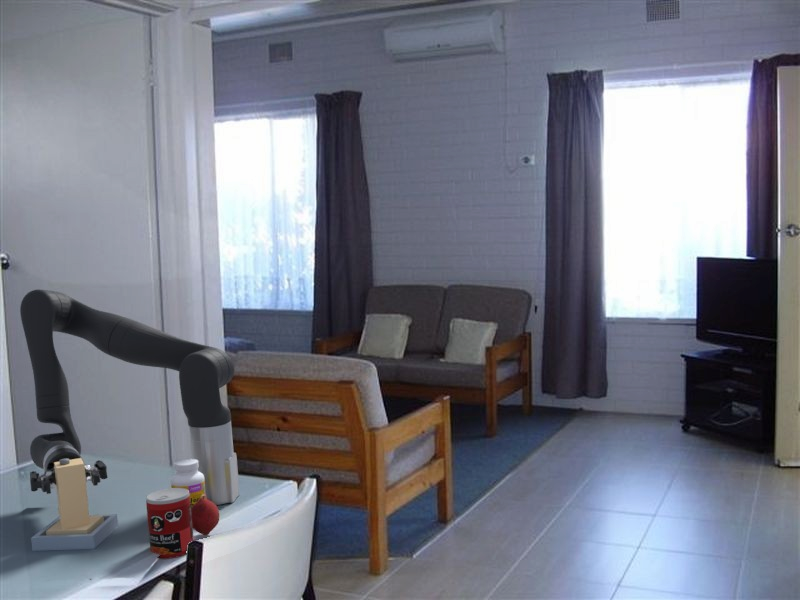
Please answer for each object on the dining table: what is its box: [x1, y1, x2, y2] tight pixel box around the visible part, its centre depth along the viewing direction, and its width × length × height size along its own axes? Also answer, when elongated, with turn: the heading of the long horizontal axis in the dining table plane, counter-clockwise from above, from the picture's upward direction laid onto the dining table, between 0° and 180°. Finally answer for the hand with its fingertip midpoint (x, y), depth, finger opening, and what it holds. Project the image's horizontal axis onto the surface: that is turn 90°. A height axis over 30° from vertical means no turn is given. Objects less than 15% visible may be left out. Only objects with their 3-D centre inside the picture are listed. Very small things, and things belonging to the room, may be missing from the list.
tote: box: [30, 513, 119, 552], centre depth 174 cm, size 12×12×4 cm
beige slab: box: [46, 514, 104, 536], centre depth 174 cm, size 8×8×3 cm
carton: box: [54, 457, 90, 529], centre depth 173 cm, size 5×5×13 cm
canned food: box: [145, 487, 194, 560], centre depth 166 cm, size 8×8×11 cm
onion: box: [191, 495, 220, 536], centre depth 174 cm, size 6×6×8 cm
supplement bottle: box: [170, 458, 206, 508], centre depth 181 cm, size 7×7×13 cm
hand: (72, 484), depth 172 cm, fingers open, 8 cm apart
